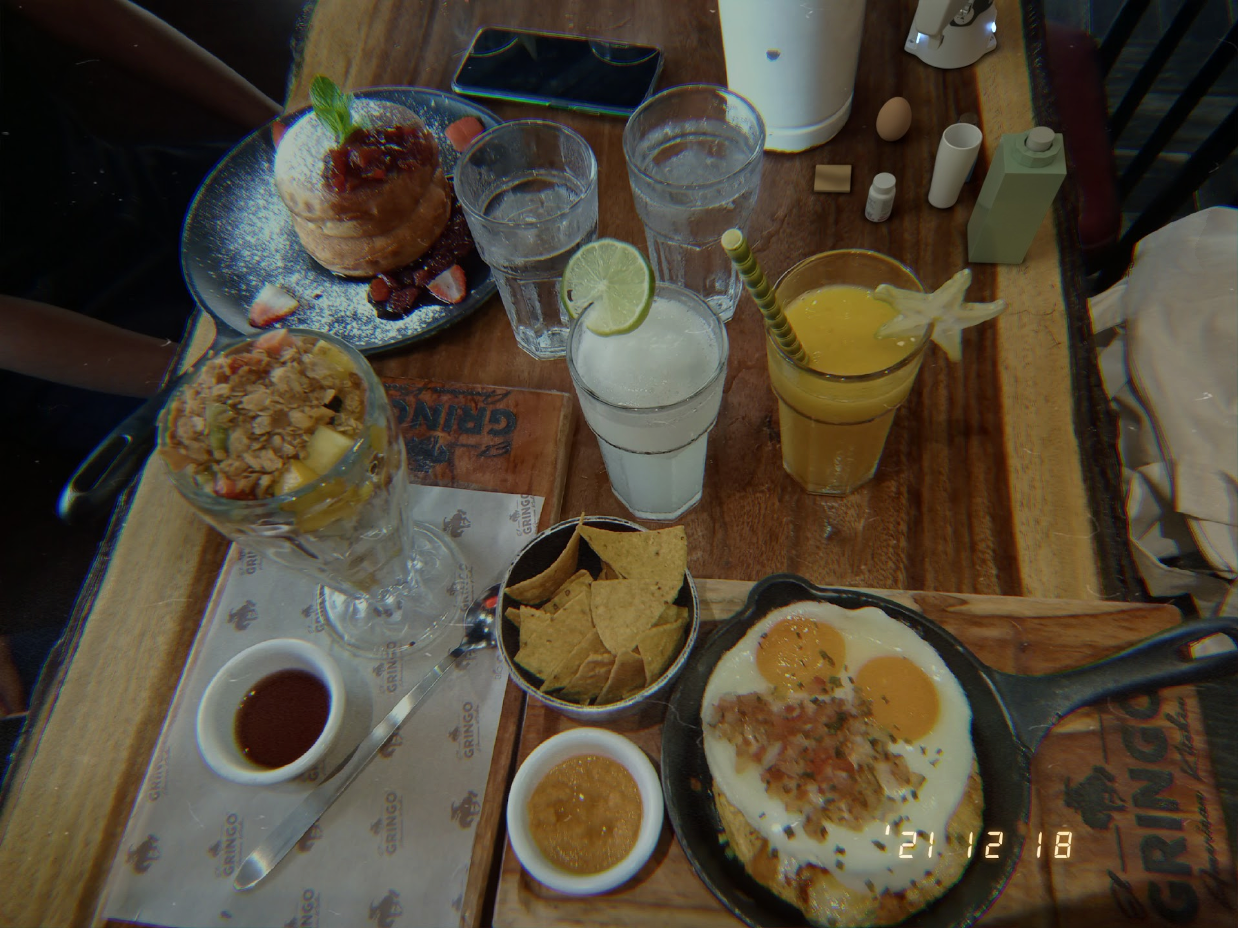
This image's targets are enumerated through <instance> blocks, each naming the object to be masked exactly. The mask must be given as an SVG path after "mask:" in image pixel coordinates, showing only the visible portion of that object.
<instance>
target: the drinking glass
mask: <svg viewBox="0 0 1238 928" xmlns="http://www.w3.org/2000/svg"><path fill="white" fill-rule="evenodd" d="M957 123H958V122H957ZM957 123H954V124H951V125H949V126H948V127H946V129H945V130H944V131H943V133H942V136H941V139H940V142H939V145H938V148H937V152H936V157H935V161H934V162H935V163H934V168H933V172H932V177H931V183H930V187H929V192H928V195H927V198H928V202H929V204H931V206H933V207H935V208H938V209H947V208H951V207H953V206H954V205H955V204H956V202H957V200H958V197H959V196H960V193H961V191H962V189H963V187H964V184H965V183H966V182H965V180H966V178H967V176H968V174H969V172H970V170H971V168H972V165H973V163H974V161H975V159H976V156H977V154H978V155H979V152H980V148H981V144H982V141H983V133H982V131H981V129H980V128H978V126H977V127H976V126H974V125H971V124H967V123H958V124H957Z"/></svg>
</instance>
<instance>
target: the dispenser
mask: <svg viewBox="0 0 1238 928" xmlns="http://www.w3.org/2000/svg"><path fill="white" fill-rule="evenodd" d="M1032 129H1033V128H1029V129H1027V130H1024V131H1022V132H1020V133H1002V134H1001V137H1000V139H999V142H998V144H997V147H996V149H995V153H994V155H993V158H992V160H991V163H990V166H989V167H988V171H987V174H986V176H985V179H984V181H983V184H982V187H981V189H980V192H979V194H978V197H977V199H976V201H975V204H974V207H973V210H972V213H971V215H970V218H969V220H968V223H967V225H966V226H967V253H968V254H967V257H968V263H980V264H981V263H984V264H985V263H986V264H1013V265H1014V264H1015V265H1016V264H1017V265H1022V263H1023V261H1024V259H1025V257H1026V255H1027V253H1028V251H1029V249H1030V247H1031V245H1032V243H1033V241H1034V239H1035V237H1036V235H1037V233H1038V232H1039V229H1040V228H1041V225H1042V223H1043V221H1044V219H1045V218H1046V216H1047V213H1048V212H1049V209H1050V207H1051V206H1052V204H1053V202H1054V200H1055V198H1056V196H1057V194H1058V192H1059V190H1060V187H1061V185H1062V184H1063V182H1064V180H1065V178H1066V176H1067V174H1068V173H1067V164H1066V154H1065V147H1064V136H1063V133H1055V132H1054V134H1055V137H1054V139H1053V141H1052V143H1051V145H1050V148H1049V149H1048V150H1047V151H1045V152H1034V151H1031V150H1029V149H1028V148H1027V147H1026V145H1025V143H1026V141H1027V138H1028V136H1029V134H1030V131H1031V130H1032Z"/></svg>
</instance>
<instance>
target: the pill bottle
mask: <svg viewBox="0 0 1238 928" xmlns="http://www.w3.org/2000/svg"><path fill="white" fill-rule="evenodd" d="M896 182H897V179H896V177H895V176H894V175H893V174H892V173H889V172H880V173H879V174H876V175H875V176H874V178H873V181H872V184H871V185H870V187H869V190H868V194H867V195H868V196H867V199H866V205H865V211H864V215H865V217H866V218H867V219H868V221H871V222H874V223H881V222H884V221H886V220H887V219H888V218H889V217H890V215H891V212H892V209H893V204H894V200H895V197H896V196H895V195H896V191H897V190H896Z"/></svg>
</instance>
